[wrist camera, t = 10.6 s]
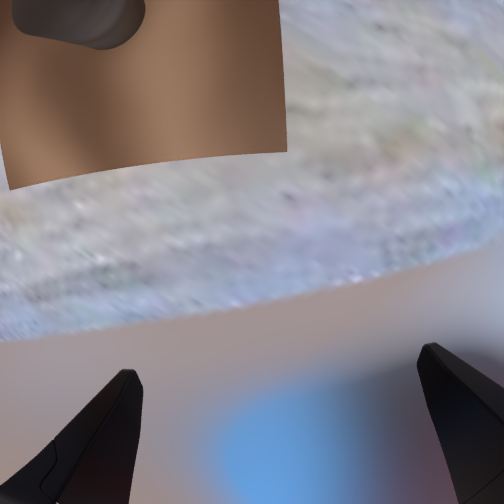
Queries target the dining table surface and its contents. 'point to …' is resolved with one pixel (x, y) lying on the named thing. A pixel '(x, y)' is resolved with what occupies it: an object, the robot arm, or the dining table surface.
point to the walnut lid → (136, 84)
